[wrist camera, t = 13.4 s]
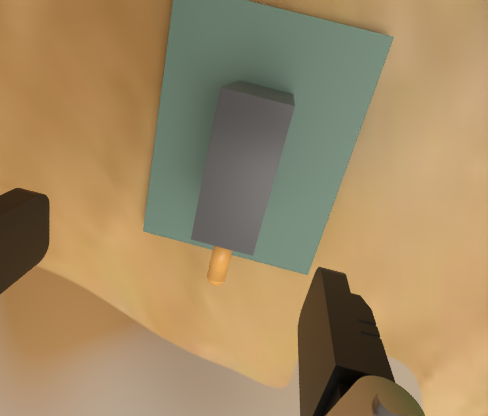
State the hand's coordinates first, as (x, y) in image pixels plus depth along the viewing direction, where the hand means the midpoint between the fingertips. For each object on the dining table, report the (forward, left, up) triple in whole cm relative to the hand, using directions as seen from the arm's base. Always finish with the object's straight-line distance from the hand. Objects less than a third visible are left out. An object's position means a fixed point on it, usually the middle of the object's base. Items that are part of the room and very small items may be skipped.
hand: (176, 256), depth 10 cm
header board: (0, +1, -18) cm, 18 cm away
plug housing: (+2, +1, -16) cm, 17 cm away
